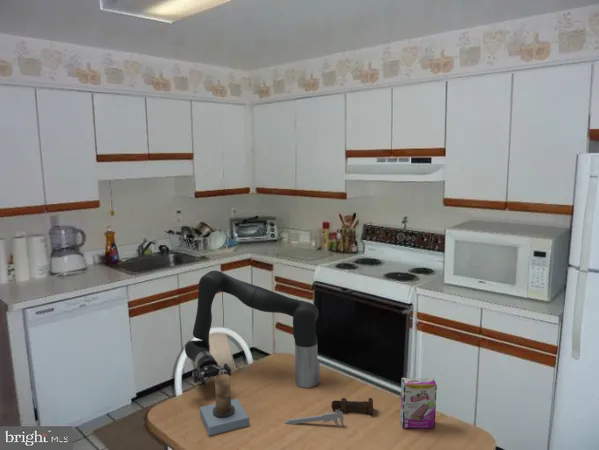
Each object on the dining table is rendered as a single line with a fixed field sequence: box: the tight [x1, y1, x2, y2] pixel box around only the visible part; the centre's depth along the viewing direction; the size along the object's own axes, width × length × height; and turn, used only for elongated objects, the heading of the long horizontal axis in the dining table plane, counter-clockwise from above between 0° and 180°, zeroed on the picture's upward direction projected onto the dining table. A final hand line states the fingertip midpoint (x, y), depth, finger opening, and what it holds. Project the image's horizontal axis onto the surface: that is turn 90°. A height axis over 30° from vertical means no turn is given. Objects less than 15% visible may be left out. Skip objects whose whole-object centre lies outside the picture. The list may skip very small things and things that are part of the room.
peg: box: [213, 373, 235, 418], centre depth 159 cm, size 8×8×16 cm
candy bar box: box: [399, 377, 438, 430], centre depth 154 cm, size 11×5×16 cm, turn 89°
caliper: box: [284, 409, 344, 427], centre depth 156 cm, size 20×1×6 cm, turn 84°
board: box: [199, 398, 250, 436], centre depth 160 cm, size 14×14×3 cm
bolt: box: [331, 397, 374, 416], centre depth 165 cm, size 6×5×15 cm
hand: (216, 381), depth 168 cm, fingers open, 8 cm apart
